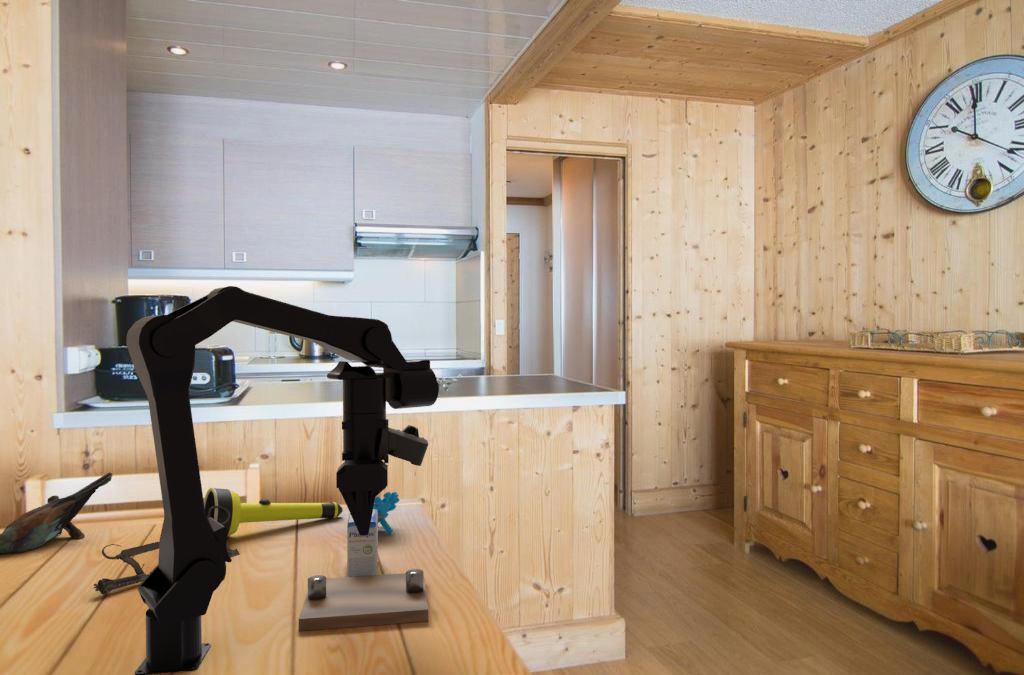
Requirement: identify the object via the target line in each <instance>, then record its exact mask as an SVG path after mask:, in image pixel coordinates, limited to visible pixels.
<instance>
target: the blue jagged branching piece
mask: <svg viewBox="0 0 1024 675" xmlns="http://www.w3.org/2000/svg"><path fill="white" fill-rule="evenodd" d="M399 502H400V498H399V494H398V493H397V491H394V492H390V491H387V492H385V493H383V499H382V498H381V497H380V496H378V495H377V496H376V498H375V502H374V507H373V509H377V511H378V524H379V523H380V525H381V527H383V529H384V531H385V532H386V533H387V535H391V534H392V533H393V532H394V530H393V528H392V527H391V526H390V524H389V523H388V522H387V520H386V518H387V517H388V516H389V513H388V512H391V511H394V510H395V509H396V508H397V503H399Z"/></svg>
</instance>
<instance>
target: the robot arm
mask: <svg viewBox="0 0 1024 675" xmlns="http://www.w3.org/2000/svg"><path fill="white" fill-rule="evenodd" d="M232 322H234V323H238V324H240V325H241V324H242V325H246V326H250V327H252V328H253V327H254V328H257V329H259V330H260V329H262V330H265V331H268V332H272V333H277V334H281V335H284V336H288V337H292V338H295V339H299V340H303V341H308V342H311V343H314V344H316V345H318V346H320V347H321V348H322V349H324V350H327V351H328V352H330V353H332V354H334V355H337V356H338V357H340V358H342V359H345V360H348V361H344V360H343V361H338V363H337V364H336V366H335V367H334V368H333V369H331V370H330V371H329V372H328V373H327V374H326V377H327V379H329V380H338V381H342V421H341V430H342V442H343V443H342V444H343V445H342V447H343V448H342V449H343V450H342V452H341V461H343V463H342V464H340V465H339V466H338V468H337V470H336V472H335V473H336V474H335V475H336V476H335V478H336V488H337V489H338V491H339V492H340V494H341V497H342V498H343V501H344V502H345V505H346V507H347V509H348V512H349V515H350V514H351V516H352V518H353V520H354V523H355V525H356V527H357V530H358V532H359V534H360V535H368V534H369V529H370V523H371V518H372V512H373V507H374V504H375V503H374V502H375V498H376V497H378V495H379V494H381V493H382V491H384V490H386V489H387V487H388V484H389V482H388V481H389V478H388V477H389V475H388V474H389V473H388V472H389V468H388V467H389V465H388V464H389V461H390V460H389V458H390V457H389V456H391V457H394V458H397V459H400V460H403V461H406V462H409V463H410V464H412V465H414V466H417V467H421V466H422V464H423V461H424V458H425V456H426V452H427V449H428V447H429V442H428V440H427V439H426V438H425V437H420V434H419V428H418V427H416V426H414V425H412V424H411V425H410V424H407V425H406V427H405V428H404V429H402V430H400V429H395V428H392V427H389V418H387V404H388V405H389V406H390V407H391V408H392V409H393V410H398V409H411V408H423V407H424V408H425V407H432V406H433V405H434V404H435V403H436V402H437V399H438V397H439V390H440V386H439V384H440V383H439V382H438V380H437V376H436V374H435V372H434V370H433V369H432V368H431V360H430V359H420V358H419V359H413V360H406V358H405V357H404V356H403V353H401V351H400V350H399V348H398V347H397V345H396V344H395V342H394V340H393V337H392V332H391V330H390V328H389V325H388V324H387V323H386V322H384V321H382V320H380V319H377V318H366V317H357V316H355V317H353V316H344V315H343V316H341V315H331V314H330V315H329V314H326V313H323V312H319V311H314V310H311V309H308V308H305V307H301V306H299V305H294V304H290V303H287V302H284V301H280V300H277V299H273V298H270V297H266V296H262V295H259V294H255V293H254V292H249V291H245V290H244V289H242V288H240V287H239V286H233V285H227V286H221V287H217V288H215V289H213V290H211V291H210V292H209V293H208V294H206V295H205V296H202V297H200V298H198V299H197V300H194V301H192V302H190V303H188V304H186V305H184V306H183V305H182V306H181V307H180V308H177V309H175V310H172V311H171V312H170V313H167V314H157V315H155V314H154V315H149V316H146V317H145V316H144V317H142V318H140V319H138V320H137V321H135V322H134V323H133V324H132V325H131V327H130V328H129V329H128V331H127V334H126V341H125V342H126V347H127V350H128V354H129V355H130V358H131V363H132V365H133V367H134V371H135V372H136V376H137V377H138V379H139V381H140V383H141V385H142V386H141V387H142V388H143V390H144V392H145V395H146V397H147V402H148V409H149V414H150V422H151V430H152V436H153V443H154V450H155V456H156V464H157V465H156V466H157V471H158V478H159V479H158V480H159V487H160V492H161V494H160V495H161V500H162V506H163V522H162V527H161V531H160V536H159V541H158V542H159V549H158V561H157V562H158V563H157V565H156V566H155V567H154V568H153V569H152V570H151V571H150V572H151V573H150V572H149V573H148V574H149V575H148V574H147V575H148V576H147V577H146V578H145V579H144V580H143V581H142V582H140V583H139V585H138V586H137V591H138V594H139V596H140V598H141V600H142V602H143V604H145V605H146V606H147V607H148V609H147V610H146V611H145V658H144V660H142V662H141V663H140V665H139V666H138V668H137V669H136V670H135V671H134V675H158V674H170V673H171V674H172V673H184V672H193V671H196V670H198V669H199V668H200V666H201V664H202V662H203V661H204V659H205V657H206V655H207V654H208V652H209V651H210V648H212V644H211V643H210V642H204V643H203V642H202V639H203V637H202V635H203V634H202V633H203V631H202V630H203V629H202V616H205V615H206V614H207V611H208V610H209V606H210V603H211V600H212V597H213V594H214V592H215V591H216V590H217V589H218V588H219V587H220V586H221V584H222V582H223V581H224V580H225V578H226V575H227V563H232V561H233V559H232V557H231V558H230V556H229V555H228V552H227V545H228V543H227V542H228V541H227V540H228V537H227V531H226V527H224V526H223V525H221V524H220V523H218V522H217V521H215V520H214V519H212V518H211V517H210V518H207V516H206V513H205V508H204V495H203V488H202V480H201V473H200V472H201V471H200V466H199V465H200V464H199V460H198V459H199V458H198V450H197V444H196V436H195V435H196V434H195V428H194V421H193V414H192V406H191V398H190V389H191V384H192V380H193V377H194V376H193V374H194V370H195V366H196V365H195V361H196V360H195V359H196V346H197V345H198V344H200V343H202V342H203V341H205V340H207V339H209V338H210V337H212V336H213V335H215V334H216V333H218V332H219V331H221V330H222V329H223V328H224V327H226V326H227V325H229V324H230V323H232ZM349 361H353V362H360V363H362V364H363V365H361V366H360V365H358V366H352V365H351V364H350V363H349ZM374 368H378V369H383V370H382V371H383V372H376V371H375V369H374ZM226 544H227V545H226Z"/></svg>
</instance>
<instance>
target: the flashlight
mask: <svg viewBox="0 0 1024 675" xmlns="http://www.w3.org/2000/svg"><path fill="white" fill-rule="evenodd" d="M204 495H205V496H204V498H203V501H204V508H205V513H206V516H208V511H209V509H210V508H211V507H212V506H221V507H224V508H225V509H227V510H228V512H229V513H230V518H229V520H228V522H227V523H226V524H224V525H223V526H224V527H226V531H227V538H228V537H229V536H231V535H233V534H235V533H237V531H238V528H239V526H240V524H242V523H243V524H244V523H247V524H248V523H262V522H263V523H264V522H265V523H266V522H277V521H282V522H283V521H296V520H297V521H298V520H311V519H312V520H315V519H331V520H333V519H336V518H337V517H339V516H340V515H341V514H342V512H343V507H342V506H341V505H340V504H339V503H337V502H336V501H335V502H334V501H331V502H271V501H270V500H269V499H267V498H262V499H260V500H259V501H258V502H241V499H240V498H241V497H240V495H239V493H237V492H235V491H232V490H230V489H228V488H216V487H214V488H213V487H209V488H208V489H207V490H206V493H205V494H204ZM210 517H211V518H212V519H214V520H215V521H217V522H218V523H223V522H225V521H226V520H227V517H228V513H226V511H224V510H223V509H221V508H213V509H212V510H211V512H210Z"/></svg>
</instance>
